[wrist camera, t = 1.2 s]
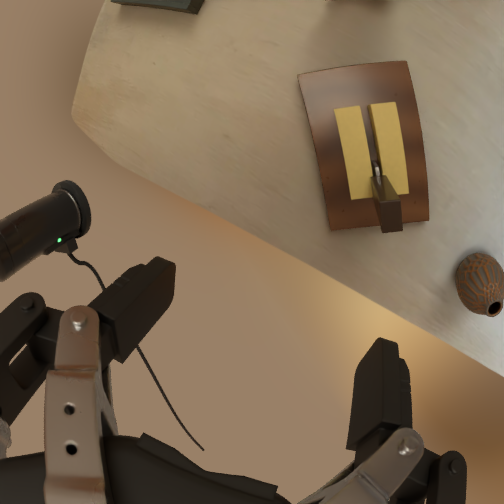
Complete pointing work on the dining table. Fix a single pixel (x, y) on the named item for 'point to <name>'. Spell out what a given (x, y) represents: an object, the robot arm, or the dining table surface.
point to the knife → (386, 202)
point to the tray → (166, 4)
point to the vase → (481, 284)
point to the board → (329, 144)
